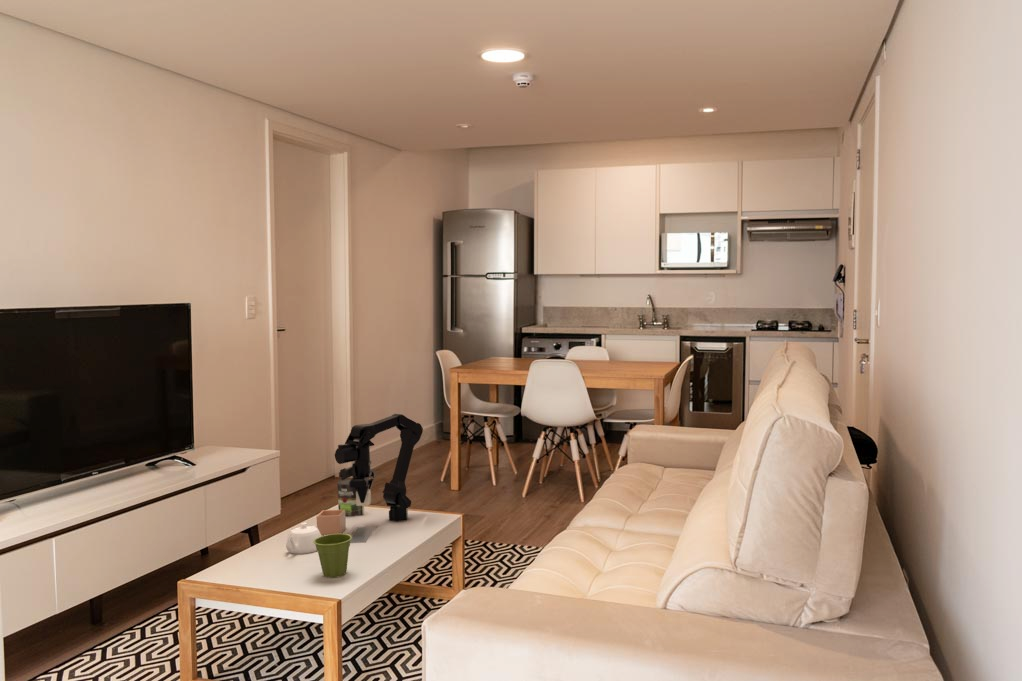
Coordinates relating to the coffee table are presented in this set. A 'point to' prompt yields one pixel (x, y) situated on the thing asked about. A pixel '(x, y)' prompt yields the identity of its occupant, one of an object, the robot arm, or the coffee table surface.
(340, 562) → the plant pot
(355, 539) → the slate board
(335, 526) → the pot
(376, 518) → the coffee table surface
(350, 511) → the coffee can
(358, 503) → the block
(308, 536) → the teapot
